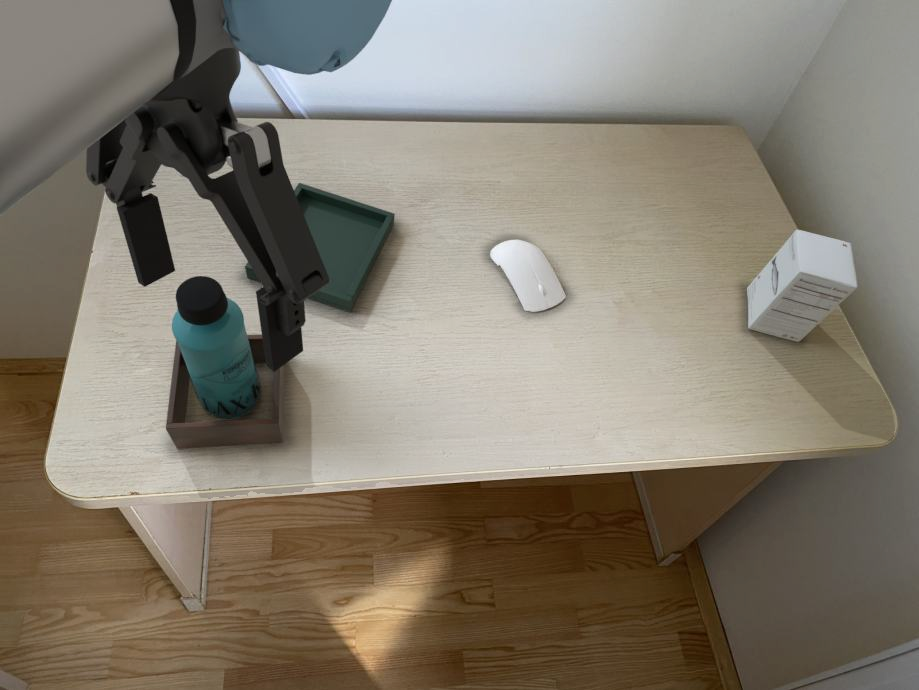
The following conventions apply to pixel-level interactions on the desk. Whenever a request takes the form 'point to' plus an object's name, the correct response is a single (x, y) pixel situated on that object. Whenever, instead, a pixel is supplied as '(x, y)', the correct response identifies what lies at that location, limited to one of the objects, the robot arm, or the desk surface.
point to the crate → (222, 430)
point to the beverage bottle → (215, 348)
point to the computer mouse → (529, 274)
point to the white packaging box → (801, 285)
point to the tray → (342, 242)
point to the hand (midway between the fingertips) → (217, 316)
